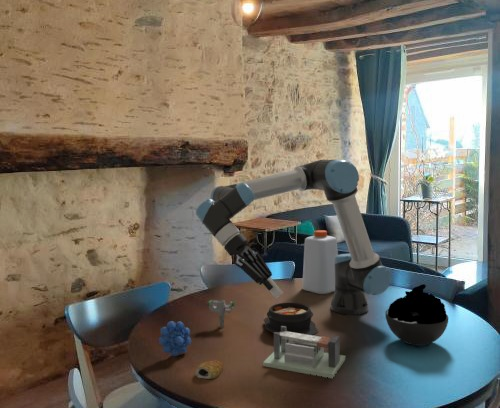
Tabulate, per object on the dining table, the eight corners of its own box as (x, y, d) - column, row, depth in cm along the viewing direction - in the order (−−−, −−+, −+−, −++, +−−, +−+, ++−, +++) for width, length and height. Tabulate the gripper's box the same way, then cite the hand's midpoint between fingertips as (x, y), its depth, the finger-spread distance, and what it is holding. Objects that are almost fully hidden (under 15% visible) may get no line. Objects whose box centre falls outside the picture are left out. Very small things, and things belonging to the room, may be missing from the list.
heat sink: (271, 361, 150) (271, 335, 149) (284, 348, 160) (284, 323, 159) (332, 372, 142) (332, 344, 141) (342, 357, 152) (341, 331, 151)
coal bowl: (417, 360, 151) (417, 301, 149) (372, 339, 169) (372, 286, 167) (461, 347, 160) (462, 291, 158) (415, 328, 178) (415, 277, 176)
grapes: (165, 365, 152) (164, 328, 151) (156, 358, 158) (154, 322, 156) (198, 355, 159) (196, 319, 158) (188, 349, 164) (186, 314, 163)
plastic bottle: (298, 289, 231) (297, 231, 228) (318, 283, 241) (318, 227, 238) (323, 296, 220) (323, 235, 217) (344, 289, 230) (343, 230, 227)
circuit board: (263, 365, 150) (263, 362, 150) (280, 348, 162) (280, 345, 162) (332, 378, 140) (332, 374, 140) (345, 359, 153) (345, 355, 153)
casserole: (252, 324, 187) (252, 303, 186) (294, 316, 194) (294, 295, 193) (284, 347, 164) (284, 323, 163) (330, 337, 172) (330, 314, 171)
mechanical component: (234, 329, 182) (233, 303, 181) (207, 327, 184) (206, 302, 183) (235, 326, 185) (235, 300, 184) (209, 325, 187) (208, 299, 186)
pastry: (210, 365, 152) (209, 353, 152) (229, 369, 149) (228, 357, 149) (193, 377, 144) (193, 365, 144) (212, 382, 141) (212, 369, 140)
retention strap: (275, 339, 152) (275, 335, 152) (281, 332, 157) (281, 329, 157) (326, 348, 145) (326, 344, 145) (332, 341, 150) (332, 337, 150)
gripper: (234, 242, 166) (280, 296, 161) (215, 251, 154) (263, 309, 149) (248, 228, 162) (295, 282, 157) (229, 236, 151) (279, 295, 146)
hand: (279, 295), depth 153 cm, fingers closed
